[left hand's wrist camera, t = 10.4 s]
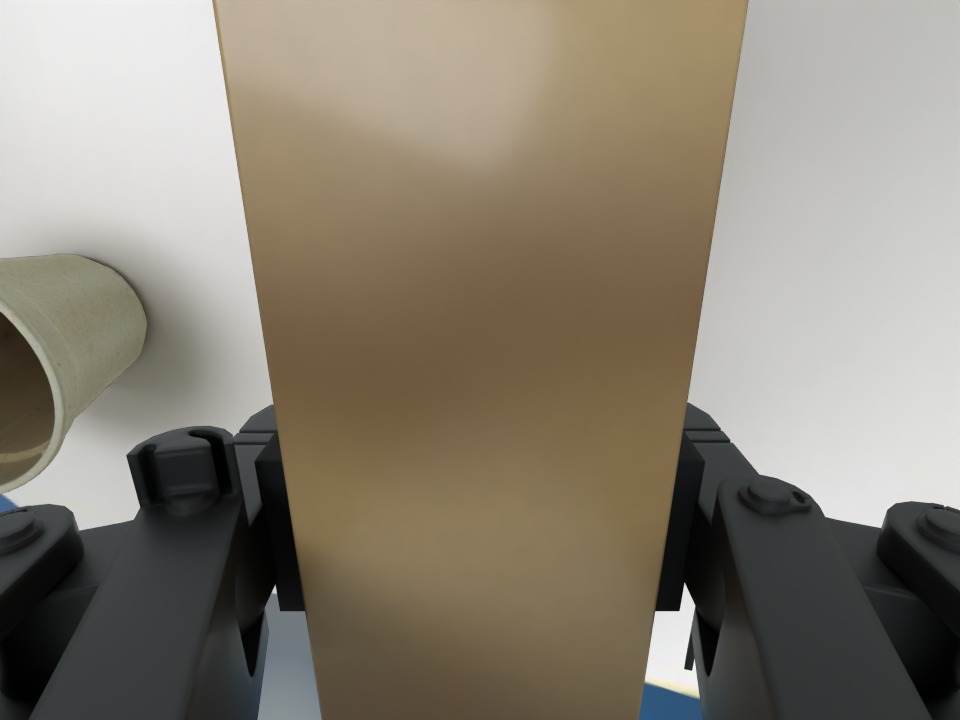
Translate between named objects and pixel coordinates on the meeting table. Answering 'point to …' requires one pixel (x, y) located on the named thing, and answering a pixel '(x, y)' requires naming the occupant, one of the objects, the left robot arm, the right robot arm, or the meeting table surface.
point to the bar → (480, 329)
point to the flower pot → (57, 352)
